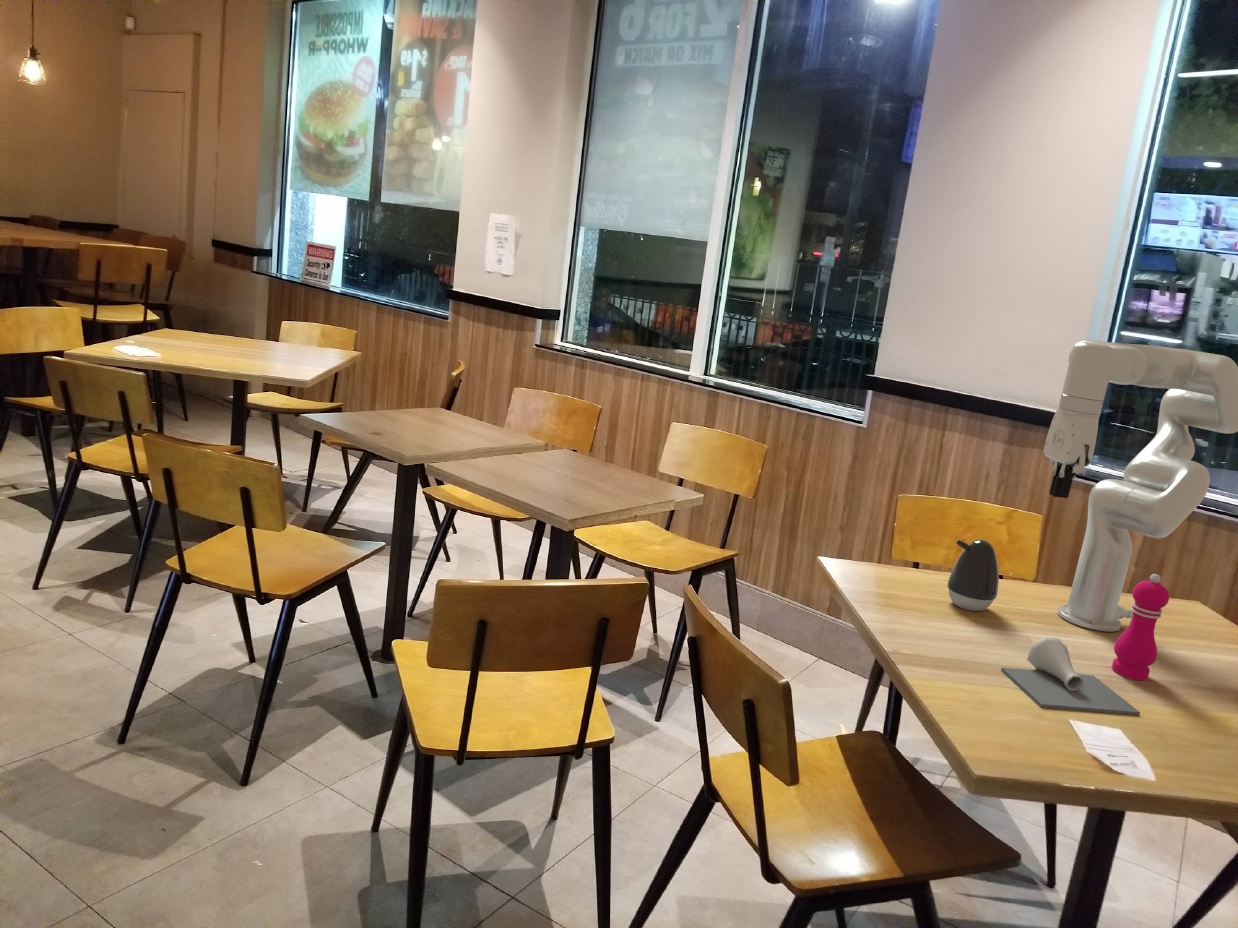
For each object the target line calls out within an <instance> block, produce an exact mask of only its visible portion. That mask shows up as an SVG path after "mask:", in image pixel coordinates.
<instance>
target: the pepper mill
mask: <svg viewBox="0 0 1238 928" xmlns="http://www.w3.org/2000/svg"><path fill="white" fill-rule="evenodd" d="M1161 579H1162V578H1161V576H1160V575H1158V574H1156V573H1152V574H1151V575H1149V580H1142V581H1139V582H1138V583H1136V584H1135V586H1134V588H1133V589H1132V593H1131V594H1132V595H1131V596H1132V598H1133V600H1134V602H1132V605H1131V606H1132V607H1131V608H1130V610H1132V611H1133V615H1132V619H1130V622H1129V624H1128V625H1127V627H1126V629H1125V630H1124V631H1123V632H1122V633H1121V634H1120V635H1119V636H1118V638H1117V639H1116V641H1115V642H1114V643H1115V644H1114V647H1113V651H1114V654H1115V655H1116V657H1115V658H1114V659H1113V661H1112V665H1111V669H1112V670H1113V672H1114V673H1116V674H1117V675H1119V676H1122V677H1123V678H1124V677H1125V678H1127V679H1131V680H1135V681H1146V680H1148V678H1149V675H1150V672H1151V669H1150V668H1149V666H1151V665H1153V664H1154V663H1155V662H1156V661H1157V658H1158V647H1157V643H1156V639H1155V628H1156V625H1157V621H1158V619H1161V617H1162V614H1163V610H1162V609H1163V608H1164V607H1166V606H1167V605H1168V602H1169V601H1170V593H1169V591H1168V589H1167V587H1166V586H1164V585H1163V584H1161V583H1160V582H1161Z"/></svg>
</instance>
